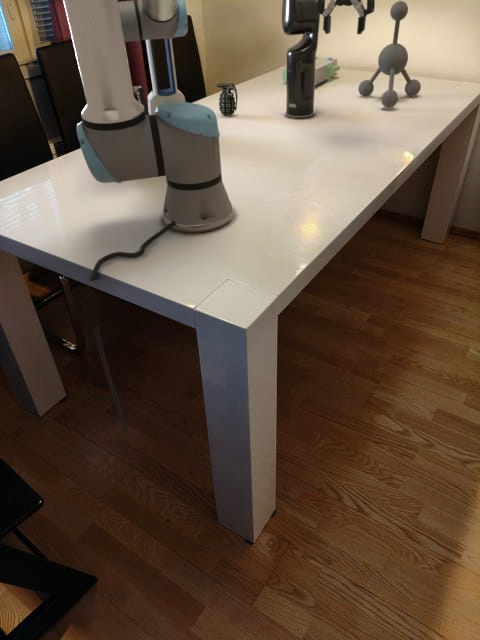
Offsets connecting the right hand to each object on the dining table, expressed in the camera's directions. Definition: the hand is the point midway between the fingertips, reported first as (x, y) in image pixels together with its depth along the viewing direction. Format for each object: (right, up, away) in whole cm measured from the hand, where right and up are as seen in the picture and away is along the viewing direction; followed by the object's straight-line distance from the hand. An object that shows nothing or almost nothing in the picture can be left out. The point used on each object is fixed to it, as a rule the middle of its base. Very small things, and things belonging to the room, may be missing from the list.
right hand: (343, 33), depth 125 cm
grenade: (-31, -3, +44) cm, 54 cm away
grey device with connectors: (+3, +29, +82) cm, 87 cm away
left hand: (-57, -29, +9) cm, 65 cm away
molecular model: (+29, +5, +50) cm, 58 cm away
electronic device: (-49, -15, +30) cm, 59 cm away
